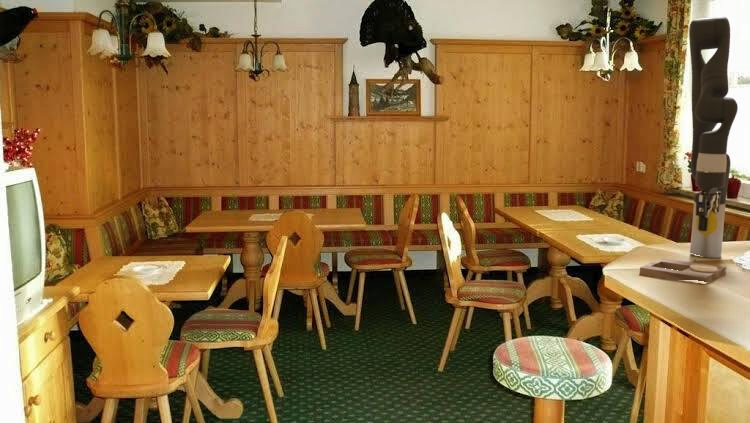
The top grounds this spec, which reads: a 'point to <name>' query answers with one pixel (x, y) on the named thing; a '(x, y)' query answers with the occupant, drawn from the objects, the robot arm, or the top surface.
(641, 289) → the top surface
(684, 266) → the pocket board
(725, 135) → the robot arm
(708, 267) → the saucer
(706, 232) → the lemon
